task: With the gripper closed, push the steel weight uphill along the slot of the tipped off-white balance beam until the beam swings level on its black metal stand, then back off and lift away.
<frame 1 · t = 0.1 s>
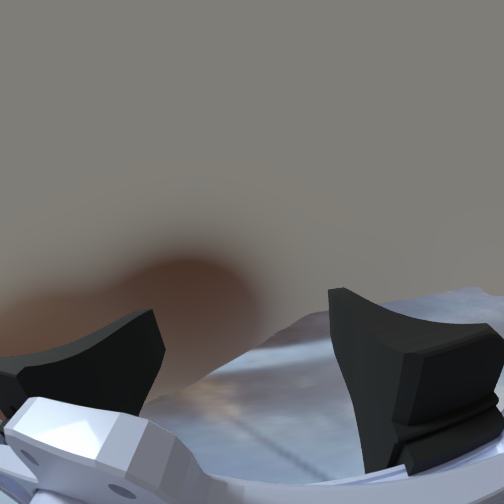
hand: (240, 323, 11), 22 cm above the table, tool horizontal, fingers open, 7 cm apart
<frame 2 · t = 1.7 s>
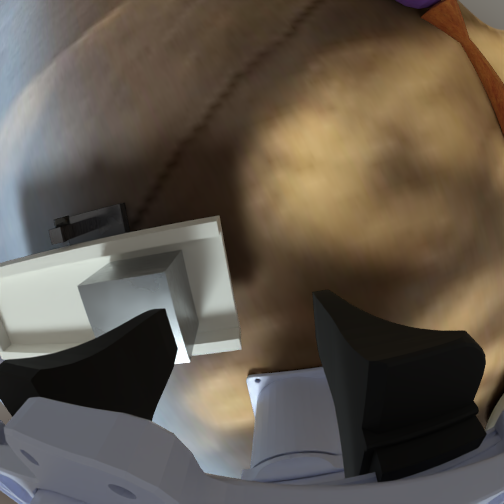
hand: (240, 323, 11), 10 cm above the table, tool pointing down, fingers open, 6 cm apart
beam stand: (111, 279, 23), on the table
kendama: (452, 52, 16), on the table
balance beam: (78, 304, 18), point 5 cm above the table, hinge at -7.1°
steel weight: (153, 293, 18), point 4 cm above the table, tilted 7°
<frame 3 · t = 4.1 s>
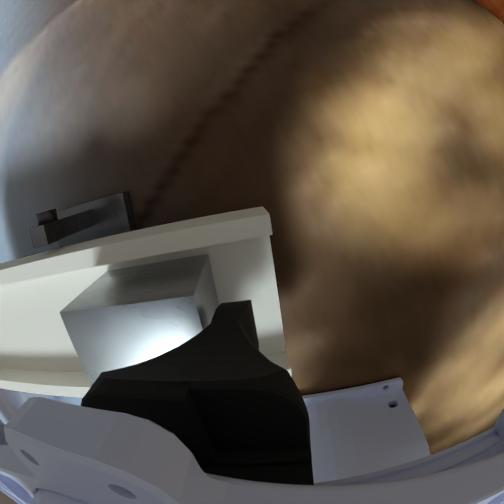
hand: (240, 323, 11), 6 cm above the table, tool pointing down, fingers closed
beam stand: (112, 288, 18), on the table
kendama: (499, 38, 11), on the table
balance beam: (71, 325, 13), point 5 cm above the table, hinge at -7.1°
steel weight: (167, 312, 13), point 4 cm above the table, tilted 6°, touching gripper
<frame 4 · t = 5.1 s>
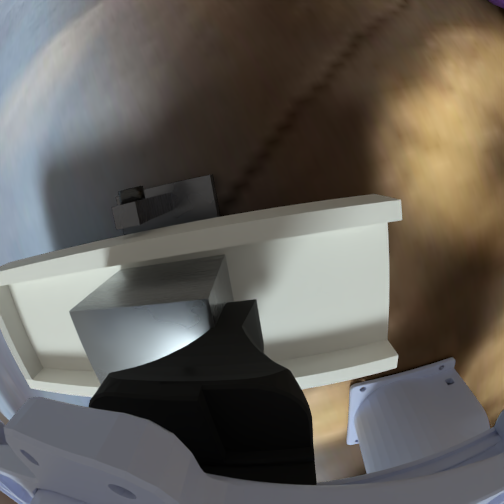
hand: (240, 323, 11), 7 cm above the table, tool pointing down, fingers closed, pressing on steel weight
beam stand: (185, 280, 18), on the table
balance beam: (156, 319, 13), point 5 cm above the table, hinge at -2.4°, touching steel weight
steel weight: (182, 313, 13), point 5 cm above the table, touching balance beam, gripper
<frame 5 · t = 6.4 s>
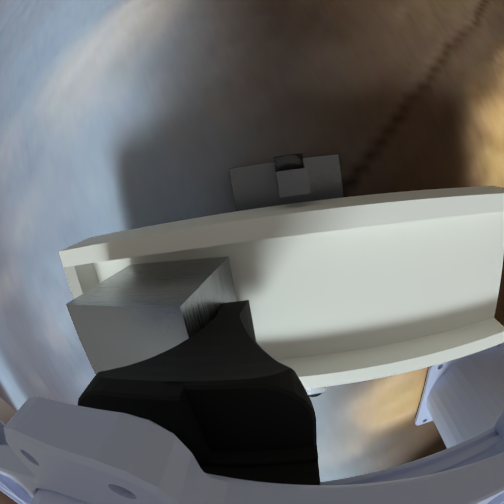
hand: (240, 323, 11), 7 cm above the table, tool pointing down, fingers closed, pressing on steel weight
beam stand: (297, 262, 18), on the table
balance beam: (306, 299, 12), point 5 cm above the table, hinge at 2.7°, touching steel weight
steel weight: (187, 312, 13), point 5 cm above the table, tilted 9°, touching balance beam, gripper
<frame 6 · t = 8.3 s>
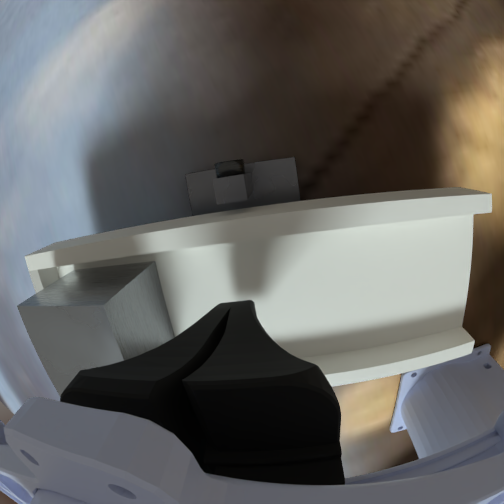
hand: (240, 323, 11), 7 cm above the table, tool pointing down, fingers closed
beam stand: (256, 266, 18), on the table
balance beam: (249, 305, 13), point 5 cm above the table, hinge at 1.4°, touching steel weight
steel weight: (124, 312, 14), point 5 cm above the table, touching balance beam
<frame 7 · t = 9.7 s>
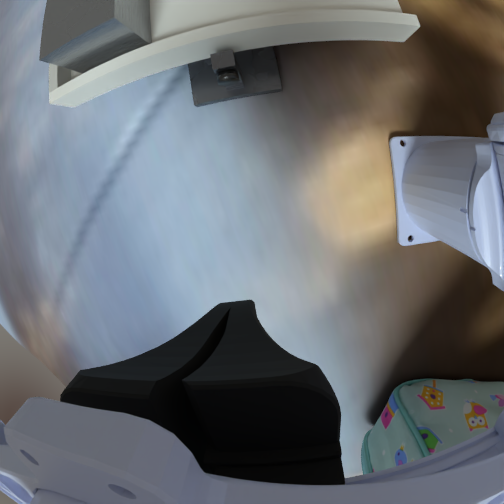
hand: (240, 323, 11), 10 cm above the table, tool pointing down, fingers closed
beam stand: (226, 28, 17), on the table
steel weight: (115, 29, 13), point 5 cm above the table, touching balance beam
lunch box: (447, 405, 25), on the table
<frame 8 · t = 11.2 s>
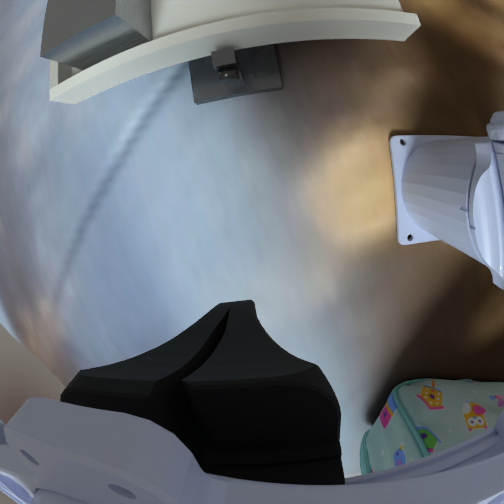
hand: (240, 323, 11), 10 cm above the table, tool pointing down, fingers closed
beam stand: (227, 27, 17), on the table
steel weight: (116, 26, 13), point 5 cm above the table, touching balance beam
lunch box: (446, 405, 25), on the table
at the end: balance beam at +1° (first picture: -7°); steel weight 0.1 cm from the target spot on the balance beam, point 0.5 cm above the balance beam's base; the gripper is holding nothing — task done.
